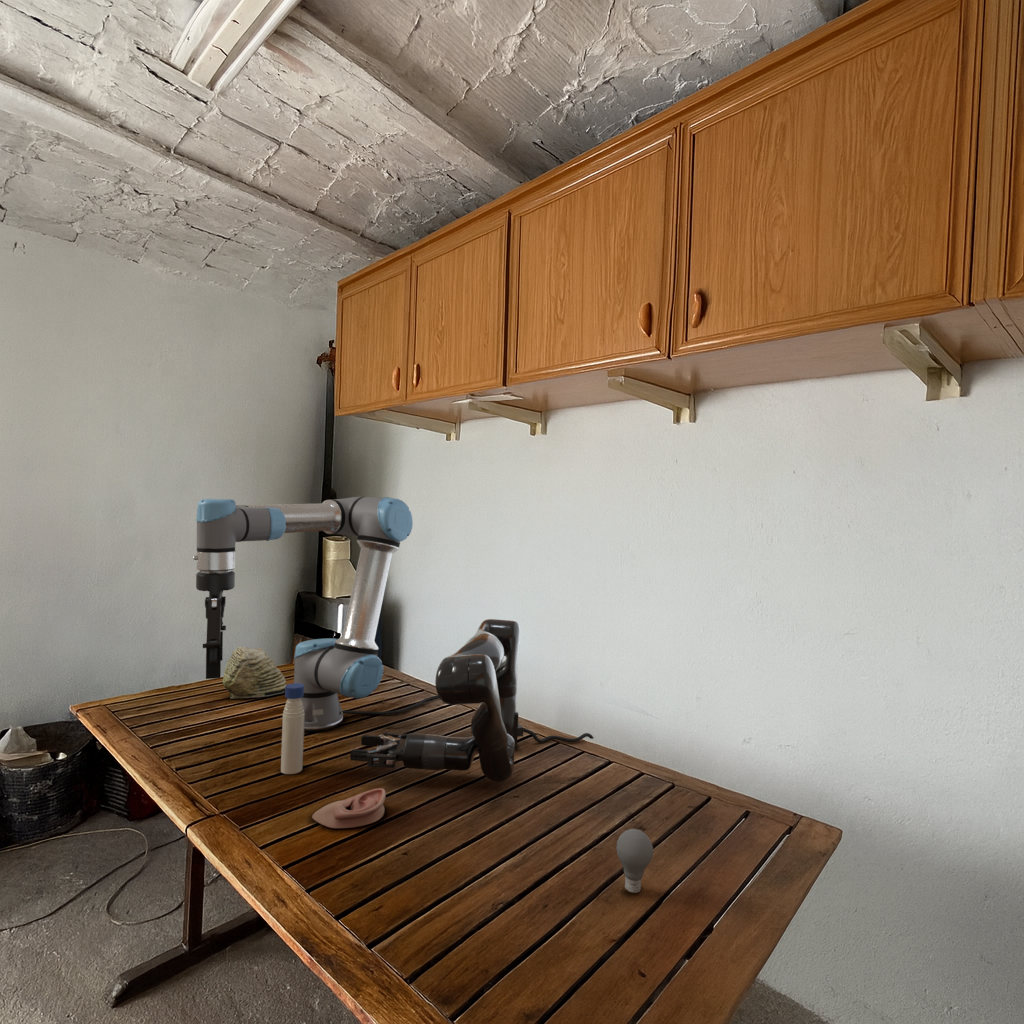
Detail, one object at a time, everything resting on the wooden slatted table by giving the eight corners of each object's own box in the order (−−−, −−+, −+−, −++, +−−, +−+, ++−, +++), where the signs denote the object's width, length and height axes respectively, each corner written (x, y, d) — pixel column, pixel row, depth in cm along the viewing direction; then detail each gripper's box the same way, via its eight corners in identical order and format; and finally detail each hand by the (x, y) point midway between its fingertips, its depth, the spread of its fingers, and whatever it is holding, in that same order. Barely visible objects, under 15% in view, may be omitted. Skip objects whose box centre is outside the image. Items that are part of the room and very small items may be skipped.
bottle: (306, 770, 146) (309, 688, 146) (286, 776, 143) (289, 691, 142) (296, 763, 150) (299, 683, 149) (276, 769, 146) (280, 686, 146)
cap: (306, 696, 146) (307, 686, 146) (290, 700, 143) (290, 689, 143) (298, 692, 149) (298, 682, 149) (281, 695, 146) (282, 685, 146)
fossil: (218, 695, 195) (220, 647, 195) (278, 685, 208) (279, 640, 207) (228, 703, 189) (230, 653, 188) (289, 692, 201) (290, 645, 201)
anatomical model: (304, 803, 122) (333, 778, 133) (303, 824, 122) (332, 797, 133) (368, 813, 119) (392, 787, 131) (368, 834, 119) (391, 806, 131)
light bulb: (610, 879, 108) (613, 822, 108) (644, 879, 109) (647, 822, 109) (619, 902, 102) (622, 840, 102) (655, 901, 103) (658, 840, 103)
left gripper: (199, 564, 146) (198, 655, 146) (191, 579, 123) (190, 688, 123) (235, 563, 148) (234, 652, 149) (234, 578, 126) (232, 684, 126)
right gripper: (432, 724, 151) (365, 720, 152) (421, 747, 137) (347, 742, 137) (431, 755, 151) (364, 751, 152) (420, 782, 137) (346, 777, 138)
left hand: (214, 669), depth 136 cm, fingers open, 13 cm apart
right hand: (356, 747), depth 145 cm, fingers open, 8 cm apart
